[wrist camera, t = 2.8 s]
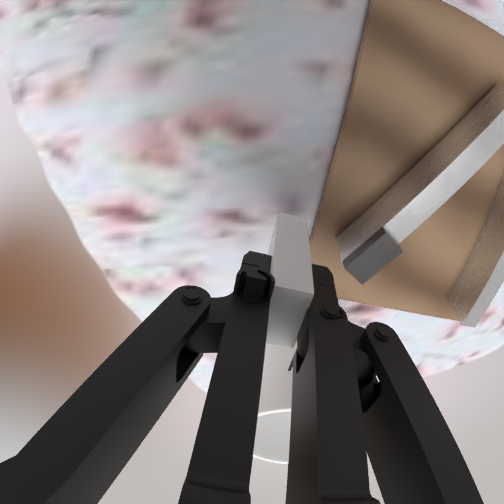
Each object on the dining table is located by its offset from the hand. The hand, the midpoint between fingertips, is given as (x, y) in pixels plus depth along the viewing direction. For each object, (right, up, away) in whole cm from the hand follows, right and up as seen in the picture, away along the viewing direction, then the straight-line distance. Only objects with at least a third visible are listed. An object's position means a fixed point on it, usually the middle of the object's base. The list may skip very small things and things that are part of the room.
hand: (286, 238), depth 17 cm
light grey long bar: (+9, +5, 0) cm, 10 cm away
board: (+11, +5, +1) cm, 12 cm away
